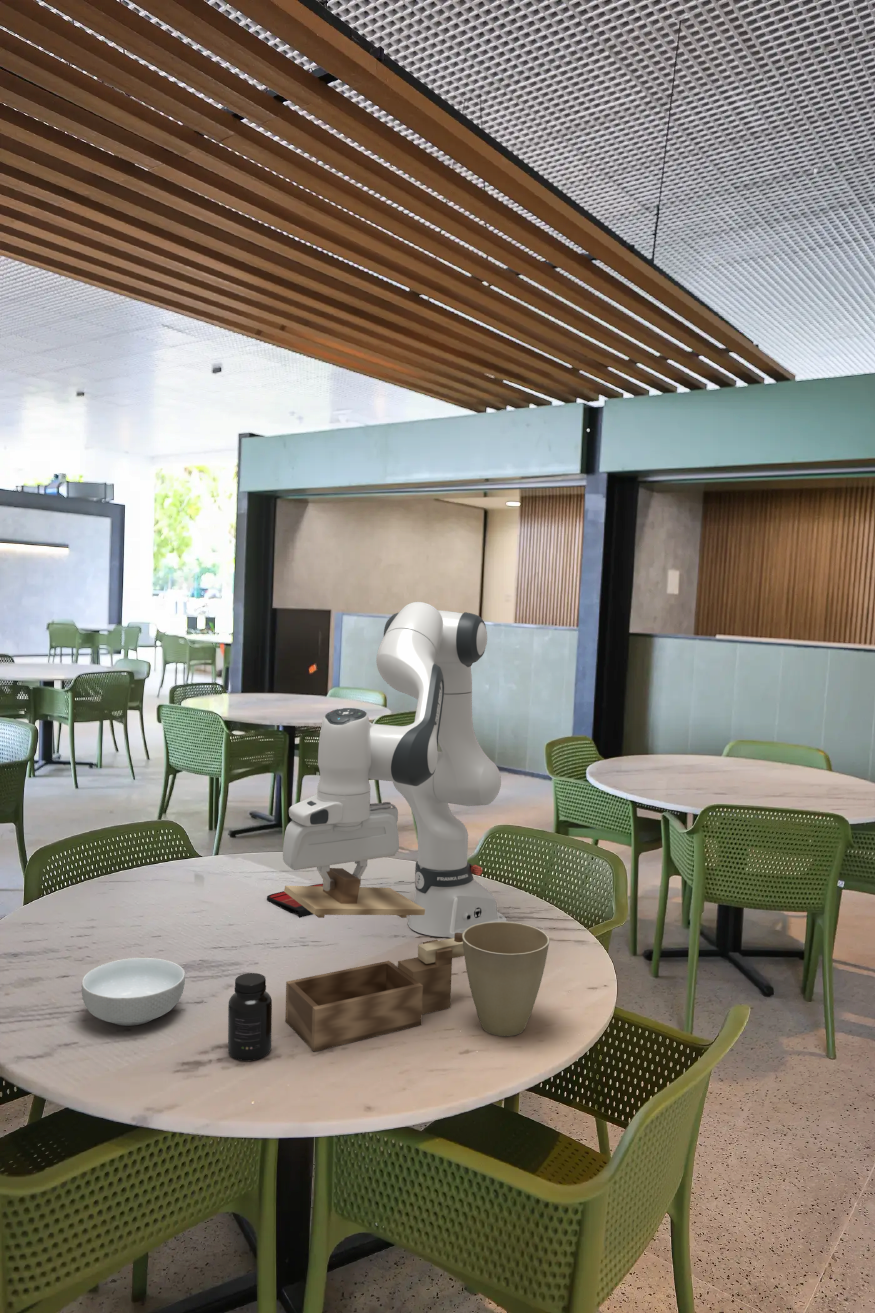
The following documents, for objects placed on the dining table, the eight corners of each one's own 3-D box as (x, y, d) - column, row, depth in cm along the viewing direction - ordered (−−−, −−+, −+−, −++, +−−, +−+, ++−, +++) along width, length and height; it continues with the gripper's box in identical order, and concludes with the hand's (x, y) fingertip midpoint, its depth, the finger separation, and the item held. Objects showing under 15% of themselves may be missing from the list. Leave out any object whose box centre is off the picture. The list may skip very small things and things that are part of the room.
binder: (373, 892, 223) (299, 910, 209) (373, 902, 223) (299, 920, 209) (335, 878, 235) (262, 894, 221) (335, 887, 235) (262, 903, 221)
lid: (387, 899, 168) (393, 866, 168) (423, 922, 157) (429, 886, 158) (282, 898, 157) (289, 862, 157) (313, 922, 147) (319, 883, 147)
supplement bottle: (230, 1041, 151) (232, 969, 150) (273, 1041, 152) (274, 969, 151) (224, 1062, 144) (226, 987, 144) (268, 1062, 145) (270, 987, 144)
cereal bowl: (125, 1049, 148) (126, 1006, 147) (59, 1021, 156) (60, 980, 156) (205, 1010, 162) (205, 971, 161) (140, 986, 171) (141, 949, 170)
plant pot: (476, 1001, 169) (479, 916, 168) (555, 1018, 164) (559, 930, 163) (445, 1036, 156) (449, 943, 154) (530, 1056, 150) (534, 959, 149)
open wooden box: (425, 989, 174) (427, 933, 173) (460, 1015, 163) (462, 956, 163) (285, 1021, 159) (286, 960, 158) (314, 1052, 149) (315, 987, 148)
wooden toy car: (459, 949, 171) (460, 930, 171) (468, 955, 169) (469, 935, 169) (417, 958, 167) (418, 938, 166) (426, 964, 164) (427, 944, 164)
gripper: (389, 797, 163) (387, 874, 164) (279, 808, 152) (278, 891, 153) (407, 804, 158) (404, 884, 159) (294, 817, 147) (293, 902, 148)
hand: (341, 887), depth 156 cm, fingers closed on lid, 3 cm apart
